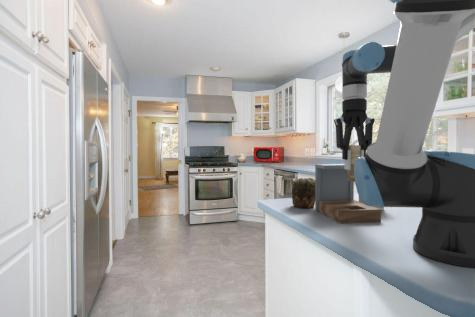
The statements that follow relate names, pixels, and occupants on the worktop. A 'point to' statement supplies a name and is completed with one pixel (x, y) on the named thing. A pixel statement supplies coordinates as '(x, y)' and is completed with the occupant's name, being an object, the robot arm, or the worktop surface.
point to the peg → (353, 160)
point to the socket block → (349, 211)
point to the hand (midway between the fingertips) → (353, 169)
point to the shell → (303, 193)
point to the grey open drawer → (332, 183)
